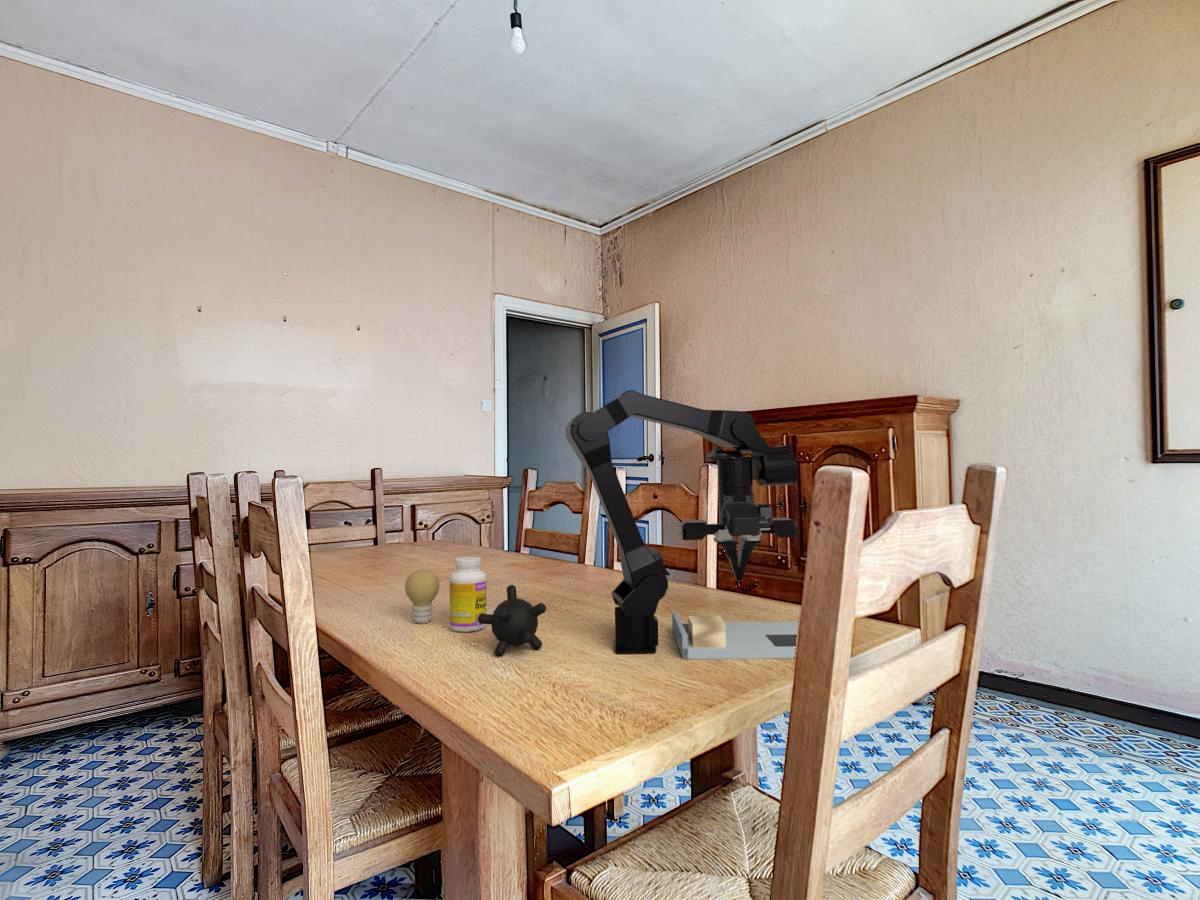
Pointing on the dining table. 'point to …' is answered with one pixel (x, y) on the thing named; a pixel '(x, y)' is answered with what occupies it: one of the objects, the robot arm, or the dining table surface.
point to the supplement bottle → (467, 595)
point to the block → (707, 631)
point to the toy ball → (514, 622)
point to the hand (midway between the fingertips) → (738, 580)
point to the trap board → (741, 640)
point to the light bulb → (422, 593)
